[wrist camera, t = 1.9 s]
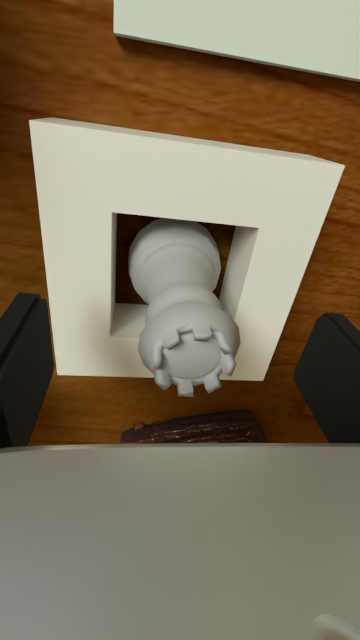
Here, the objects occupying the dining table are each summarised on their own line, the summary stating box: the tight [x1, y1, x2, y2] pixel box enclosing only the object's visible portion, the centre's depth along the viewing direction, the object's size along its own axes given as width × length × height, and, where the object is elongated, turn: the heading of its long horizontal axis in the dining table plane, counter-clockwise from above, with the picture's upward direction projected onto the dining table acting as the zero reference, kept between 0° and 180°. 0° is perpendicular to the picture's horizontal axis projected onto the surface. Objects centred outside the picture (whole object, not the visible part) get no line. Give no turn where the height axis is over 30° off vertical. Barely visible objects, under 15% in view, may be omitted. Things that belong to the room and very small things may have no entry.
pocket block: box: [29, 117, 345, 381], centre depth 15 cm, size 11×11×3 cm
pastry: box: [120, 410, 268, 444], centre depth 23 cm, size 11×12×6 cm
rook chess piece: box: [128, 218, 241, 397], centre depth 12 cm, size 4×4×8 cm
